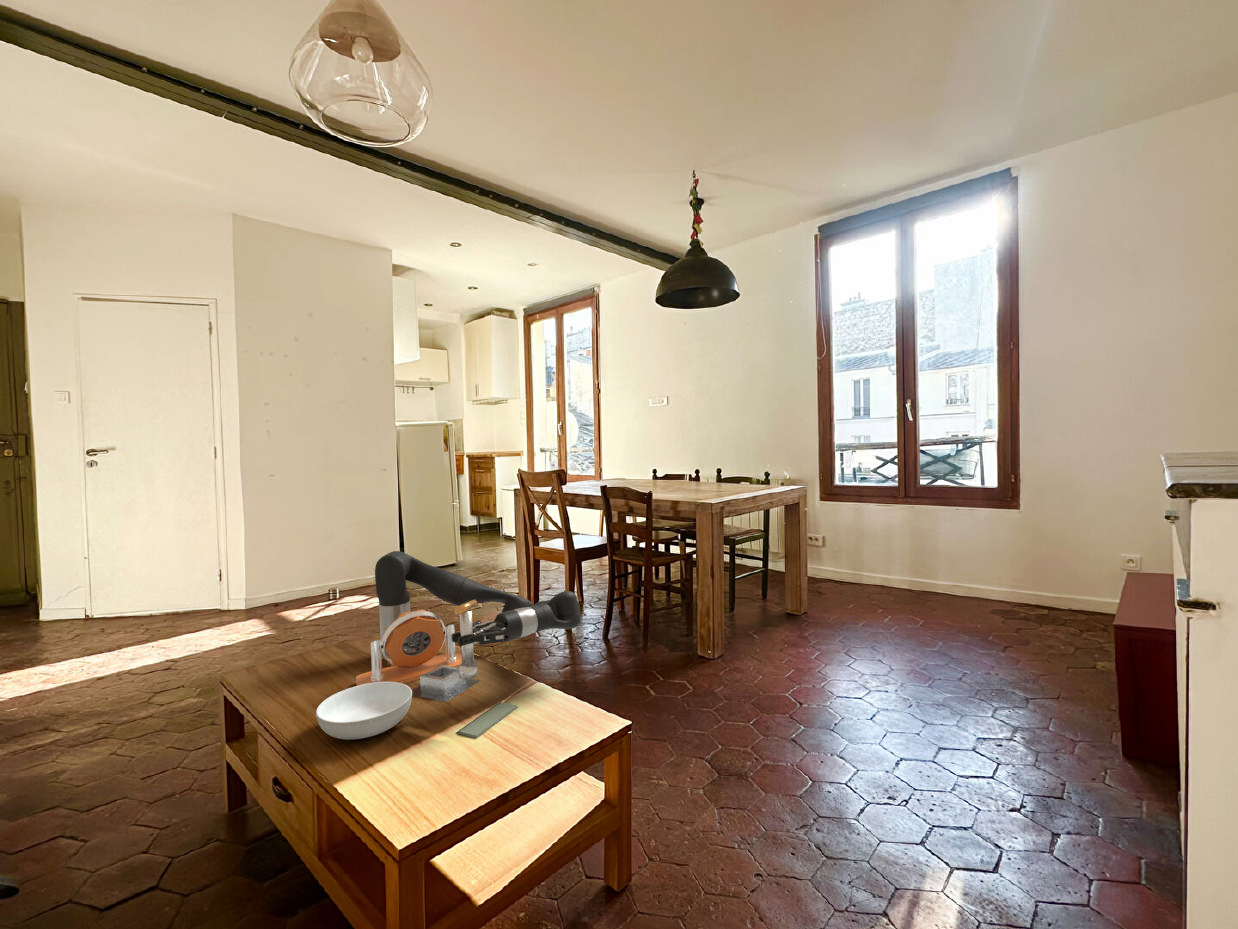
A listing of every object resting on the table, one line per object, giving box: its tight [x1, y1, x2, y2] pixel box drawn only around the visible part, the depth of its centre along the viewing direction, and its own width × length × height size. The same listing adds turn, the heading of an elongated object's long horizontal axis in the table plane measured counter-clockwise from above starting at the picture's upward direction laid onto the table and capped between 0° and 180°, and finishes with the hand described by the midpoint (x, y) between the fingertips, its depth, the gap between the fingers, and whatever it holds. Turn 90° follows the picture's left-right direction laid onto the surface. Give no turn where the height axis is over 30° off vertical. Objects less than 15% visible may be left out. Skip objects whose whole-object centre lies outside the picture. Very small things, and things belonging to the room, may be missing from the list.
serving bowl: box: [315, 682, 413, 741], centre depth 134 cm, size 21×21×7 cm
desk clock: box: [355, 609, 462, 686], centre depth 164 cm, size 12×30×20 cm, turn 125°
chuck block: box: [411, 665, 481, 703], centre depth 154 cm, size 14×14×5 cm
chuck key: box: [452, 600, 479, 680], centre depth 141 cm, size 7×4×18 cm, turn 155°
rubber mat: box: [455, 701, 519, 739], centre depth 139 cm, size 16×16×1 cm
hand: (455, 640), depth 139 cm, fingers closed on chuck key, 3 cm apart
